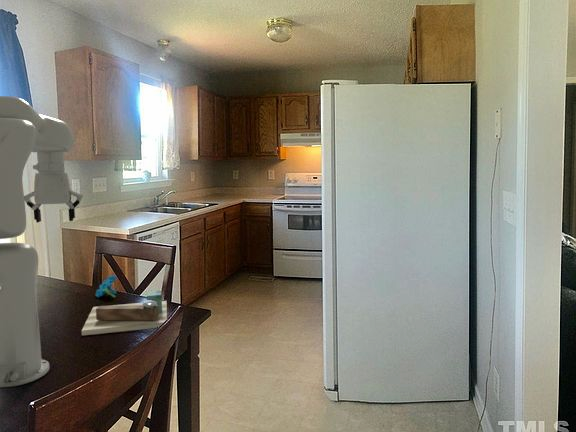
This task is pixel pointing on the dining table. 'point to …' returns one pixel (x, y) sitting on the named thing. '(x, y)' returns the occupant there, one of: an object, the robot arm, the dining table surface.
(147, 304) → the disc
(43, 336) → the dining table surface
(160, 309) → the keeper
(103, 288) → the gear
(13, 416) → the dining table surface
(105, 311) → the link
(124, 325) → the board
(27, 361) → the robot arm
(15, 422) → the dining table surface
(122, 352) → the dining table surface
